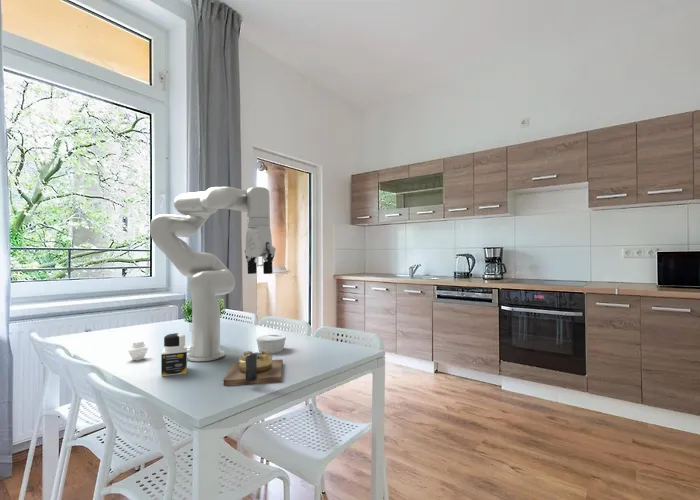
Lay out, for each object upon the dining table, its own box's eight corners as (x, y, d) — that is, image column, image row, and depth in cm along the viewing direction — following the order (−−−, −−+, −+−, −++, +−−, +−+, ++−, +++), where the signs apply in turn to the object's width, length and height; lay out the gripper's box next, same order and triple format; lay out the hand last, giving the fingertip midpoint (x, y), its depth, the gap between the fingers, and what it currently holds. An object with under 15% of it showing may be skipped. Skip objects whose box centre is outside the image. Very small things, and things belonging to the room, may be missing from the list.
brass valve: (241, 364, 115) (241, 341, 116) (273, 362, 117) (272, 339, 117) (231, 383, 97) (231, 356, 97) (269, 381, 99) (269, 354, 99)
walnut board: (223, 385, 101) (223, 380, 101) (234, 366, 119) (234, 362, 119) (280, 381, 103) (280, 376, 104) (282, 363, 121) (282, 359, 121)
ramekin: (288, 347, 145) (288, 334, 145) (282, 354, 133) (282, 340, 134) (261, 347, 145) (261, 334, 145) (252, 354, 134) (252, 340, 134)
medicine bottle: (161, 376, 109) (161, 337, 110) (163, 370, 116) (163, 333, 116) (186, 373, 112) (186, 335, 112) (187, 367, 119) (187, 331, 119)
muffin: (126, 359, 129) (126, 340, 129) (145, 356, 133) (145, 337, 133) (131, 362, 125) (131, 342, 125) (150, 359, 129) (150, 339, 129)
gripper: (236, 225, 126) (236, 274, 125) (263, 220, 114) (264, 274, 113) (254, 226, 131) (255, 273, 130) (282, 222, 119) (284, 273, 119)
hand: (259, 273), depth 122 cm, fingers open, 9 cm apart
